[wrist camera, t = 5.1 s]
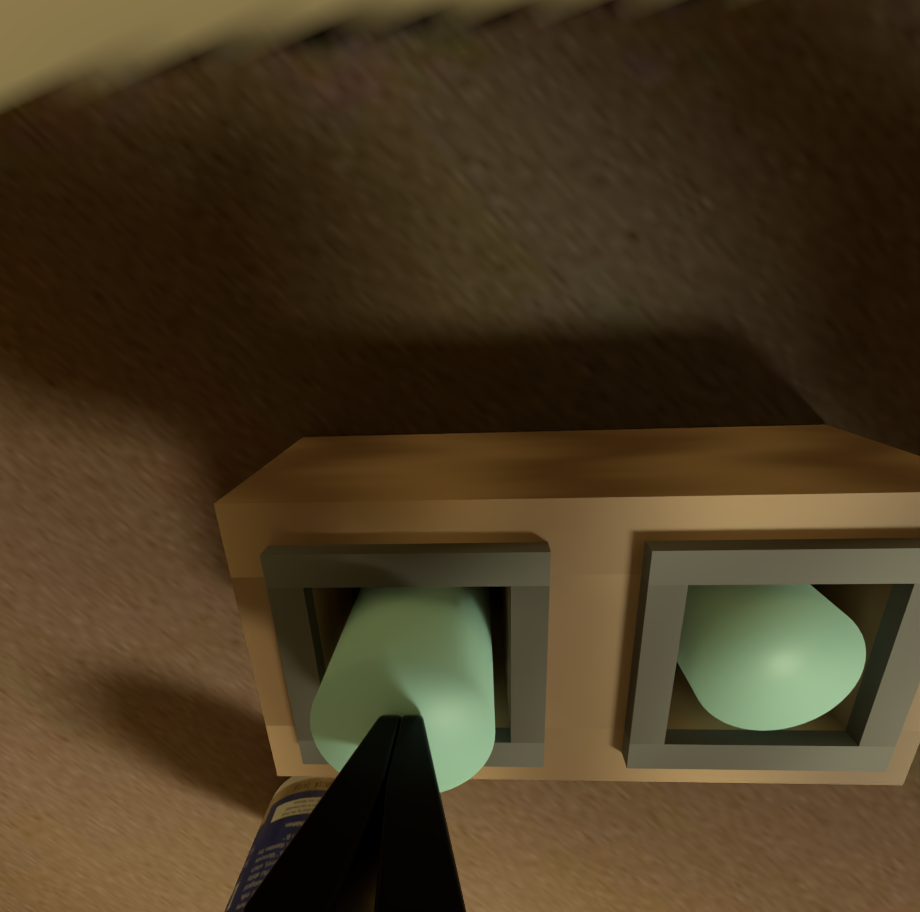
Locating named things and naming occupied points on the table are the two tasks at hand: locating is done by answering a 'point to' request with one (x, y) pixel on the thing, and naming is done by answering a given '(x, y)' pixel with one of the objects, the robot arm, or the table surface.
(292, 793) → the pill bottle
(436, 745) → the plunger
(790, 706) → the plunger
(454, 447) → the socket block
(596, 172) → the table surface
